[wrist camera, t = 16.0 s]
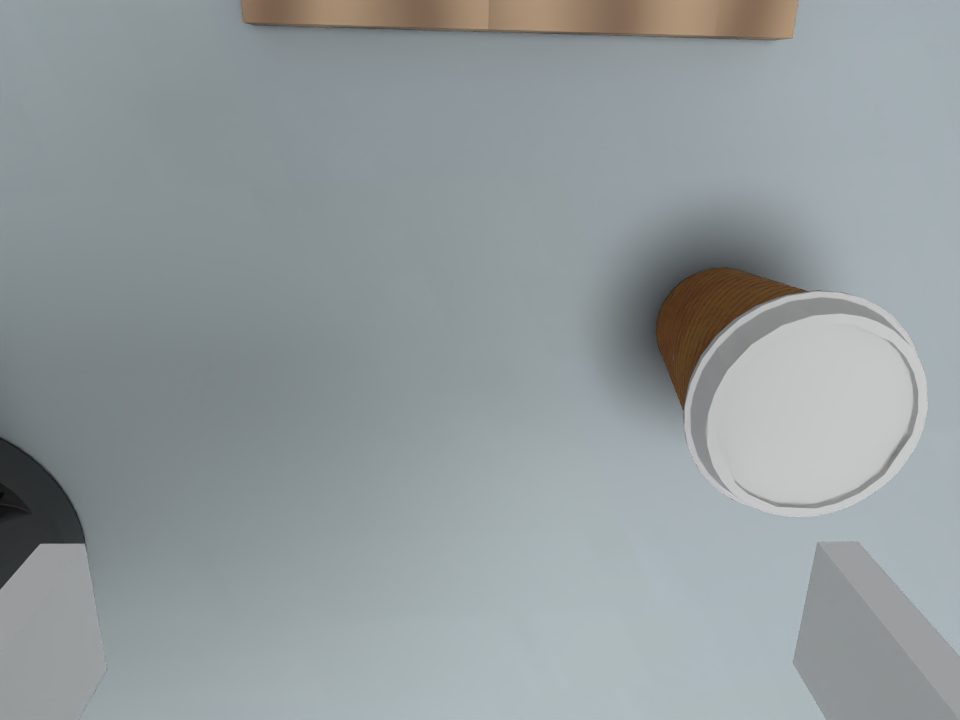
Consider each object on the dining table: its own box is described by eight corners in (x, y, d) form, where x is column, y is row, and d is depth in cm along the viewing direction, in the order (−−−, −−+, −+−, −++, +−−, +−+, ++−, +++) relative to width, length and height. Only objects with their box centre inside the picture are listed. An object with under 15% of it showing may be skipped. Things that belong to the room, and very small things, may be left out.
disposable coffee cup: (637, 231, 39) (715, 294, 28) (821, 241, 39) (970, 306, 28) (615, 404, 42) (676, 524, 31) (784, 411, 43) (906, 531, 31)
